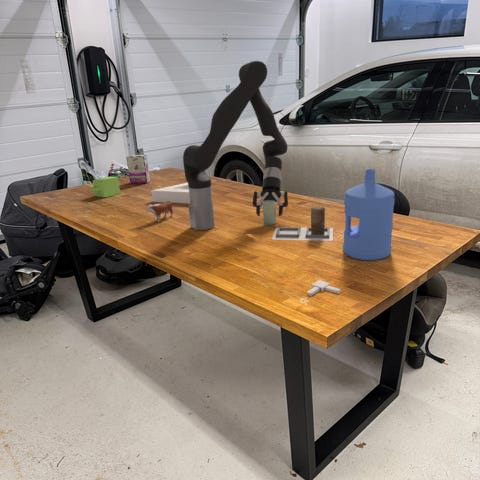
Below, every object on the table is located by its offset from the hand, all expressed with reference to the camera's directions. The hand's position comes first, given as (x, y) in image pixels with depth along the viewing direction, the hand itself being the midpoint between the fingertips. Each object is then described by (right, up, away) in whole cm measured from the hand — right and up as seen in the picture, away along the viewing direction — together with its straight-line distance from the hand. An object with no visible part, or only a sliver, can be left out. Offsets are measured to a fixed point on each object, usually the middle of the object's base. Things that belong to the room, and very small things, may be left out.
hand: (269, 215), depth 182 cm
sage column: (0, -4, +3) cm, 5 cm away
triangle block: (-37, +12, +54) cm, 67 cm away
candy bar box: (-72, +24, +90) cm, 118 cm away
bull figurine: (-46, -1, +18) cm, 50 cm away
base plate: (+12, -8, -11) cm, 18 cm away
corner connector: (+12, -25, -54) cm, 61 cm away
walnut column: (+17, -8, -13) cm, 23 cm away
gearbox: (-84, +15, +67) cm, 109 cm away
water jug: (+31, -14, -29) cm, 45 cm away
